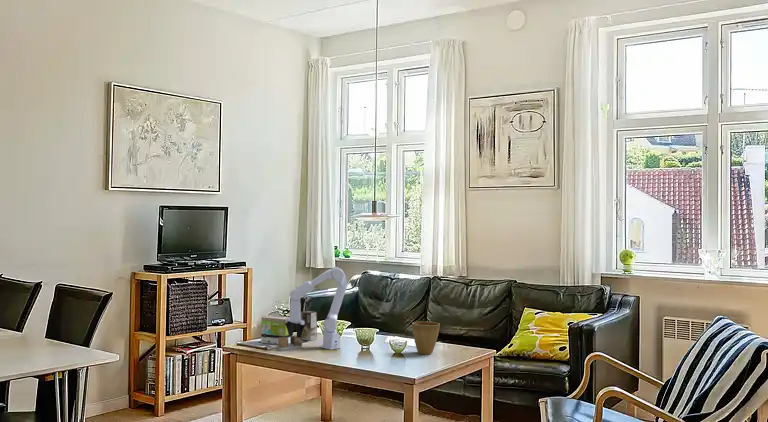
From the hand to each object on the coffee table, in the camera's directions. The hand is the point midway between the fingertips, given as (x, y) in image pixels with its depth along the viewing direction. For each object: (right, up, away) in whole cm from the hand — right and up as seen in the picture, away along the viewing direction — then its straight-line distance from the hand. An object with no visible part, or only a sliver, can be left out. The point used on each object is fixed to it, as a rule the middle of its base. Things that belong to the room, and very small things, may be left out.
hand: (294, 336), depth 380 cm
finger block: (0, -5, 0) cm, 5 cm away
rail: (-3, -6, -3) cm, 7 cm away
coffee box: (+4, -7, +28) cm, 29 cm away
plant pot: (+71, -8, -7) cm, 71 cm away
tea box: (-12, -7, +15) cm, 20 cm away
